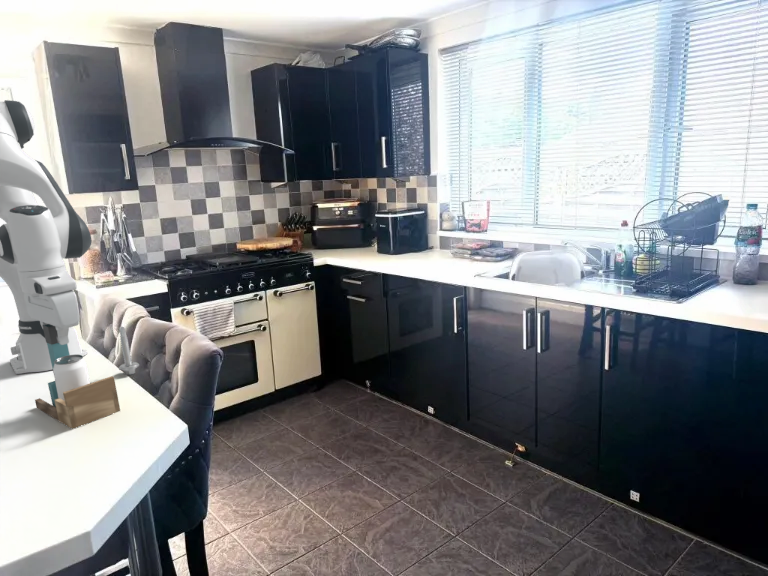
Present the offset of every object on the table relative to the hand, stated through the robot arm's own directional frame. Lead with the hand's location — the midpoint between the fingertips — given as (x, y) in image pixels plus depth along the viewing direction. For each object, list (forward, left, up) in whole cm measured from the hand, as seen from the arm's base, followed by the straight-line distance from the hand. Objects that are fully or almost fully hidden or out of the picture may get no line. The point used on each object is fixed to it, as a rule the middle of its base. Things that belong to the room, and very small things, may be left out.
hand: (57, 341), depth 120 cm
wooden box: (+3, 0, -16) cm, 16 cm away
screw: (-9, +18, -16) cm, 26 cm away
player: (-1, 0, -16) cm, 16 cm away
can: (+3, 0, -16) cm, 16 cm away
